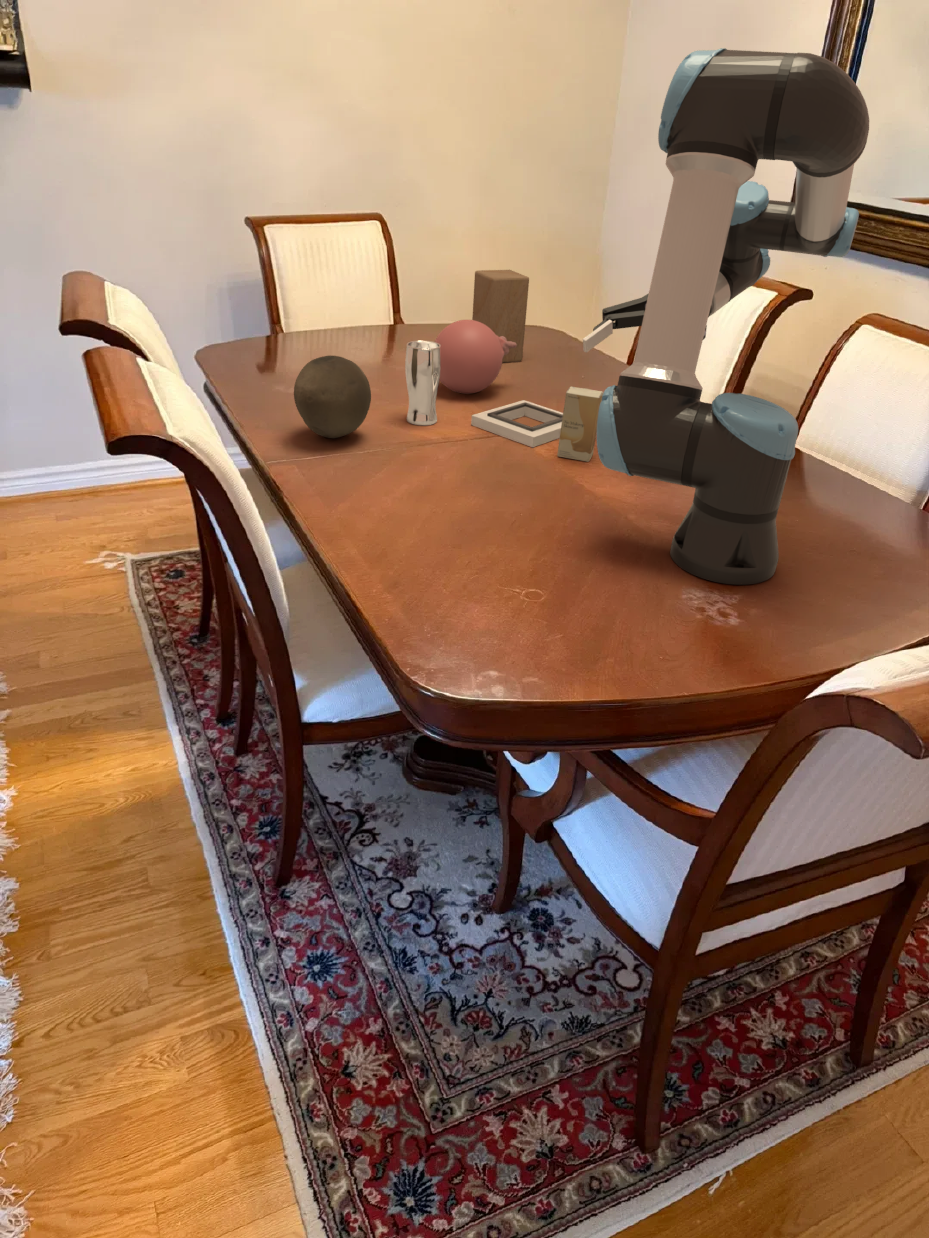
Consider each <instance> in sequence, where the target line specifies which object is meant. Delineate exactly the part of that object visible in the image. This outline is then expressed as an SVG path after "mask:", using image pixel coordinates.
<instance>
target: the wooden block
mask: <svg viewBox="0 0 929 1238" xmlns="http://www.w3.org/2000/svg"><path fill="white" fill-rule="evenodd" d="M473 282H474V283H473V284H474V285H473V298H472V299H473V300H472V301H473V303H472V319H471V320H475V321H478V322H481V323H483V324H485V325H486V326H488V327H489V328H490V329H491V330H492V331H493V332H494V333H495V335H497V336H498V337H500V336H504V337H505V338H506V340H507V341H512V342H515V343H516V344H517V346H516V347H515V348H509V353H508V354H507V355H504V357H503V359H502V364H504V363H505V364H506V363H516V362H517V363H518V362H519V363H520V362H522V361H523V357H524V356H523V355H524V345H525V343H524V342H525V331H526V319H527V310H528V309H527V308H528V296H529V286H530V285H529V284H530V277H529V276H526V275H525V274H522V273H519V272H517V271H515V270H512V269H485V270H475V271H474V281H473Z"/></svg>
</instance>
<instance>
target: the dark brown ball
mask: <svg viewBox="0 0 929 1238" xmlns="http://www.w3.org/2000/svg"><path fill="white" fill-rule="evenodd" d="M293 399H294V403H295V407H296V411H297V412H298V414H299V415H300V417H301V419H302V420H303V422H304V423H305V425H306V427H308V429H310V430H311V431H312V432H314V433H315V434H316V435H319V436H321V437H325V438H327V439H338V438H341V437H343V436H347V435H349V434H351V433H353V432H355V431H357V429H358V428H360V427H361V425H362V424H363V423H364V421H365V419H366V418H367V414H369V413H368V412H369V410H370V407H371V400H372V390H371V386H370V382H369V379H368V377H367V375H366V374H365V372H364V371H363V370H362V369H361V367H360V366H359V365H358V364H356V363H355V362H354V361H352V360H350V359H348V358H345V357H342V356H340V355H324V356H319V357H316V358H313V359H311V360H310V361H308V362H307V363H306V364H305V365H304V366H303V368H302V369H301V370H300V371H299V373H298V375H297V376H296V379H295V383H294V387H293Z"/></svg>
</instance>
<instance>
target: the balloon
mask: <svg viewBox="0 0 929 1238" xmlns="http://www.w3.org/2000/svg"><path fill="white" fill-rule="evenodd" d="M434 340H435V341H434V342H436V343H439V344H440V345H441V375H440V381H439V382H440V383H441V384H442V385H444V386H445V387H446V388H447V389H448V390H451V391H452V392H455V393H459V394H463V395H464V394H465V395H469V394H471V395H472V394H475V393H479V392H481V391H482V392H483V390H485V389H486V388H488V387H489V386H491V384H493V383H494V381H495V380H496V379H497V377H498V376H499V374H500V371H501V369H502V366H503V365H502V364H503V363H502V359H503V357H504V355H507V354H508V353H509V348H515V347H516V346H517V344H516V343H515V342H512V341H507V340H506V338H505V337H504V336H500V337H498V336H497V335H495V333H494V332H493V331H492V330H491V329H490V328H489V327H488V326H486V325H485V324H483V323H481V322H478V321H475V320H472V319H460V320H457V321H456V320H455V321H454V322H452V323H450V324H448V325H447V326H445V327H444V328H443V329H442V330H441V331H440V332H439V333H438V335H436V338H435V339H434Z"/></svg>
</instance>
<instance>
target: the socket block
mask: <svg viewBox="0 0 929 1238" xmlns="http://www.w3.org/2000/svg"><path fill="white" fill-rule="evenodd" d="M521 417H526V418H530V419H533V420H535V421H537V422H541V423H540V424H537V425H535V426H534V425H533V426H529V425H528V424H527V425H526V424H524V423H521V422H518V421H515V420H516V419H519V418H521ZM562 418H563V411H562V412H561V411H558V410H555V409H552V408H550V407H545V406H543V405H539V404H536V403H534V402H532V401H528V400H524V399H523V400H519V401H515V402H513V403H509V404H506V405H503V406H499V407H495V408H492V409H488V410H485V411H482V412H479V413H474V414H472V415H471V421H470V422H471V423H470V424H471V426H472V427H476V428H478V429H481V430H484V431H487V432H490V433H492V434H494V435H497V436H500V437H503V438H505V439H509V440H512V441H514V442H517V443H519V444H522V445H525V446H528V447H531V448H535V447H537V446H541V445H543V444H546V443H549V442H551V441H555V440H558V439H560V432H561V425H562Z"/></svg>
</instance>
